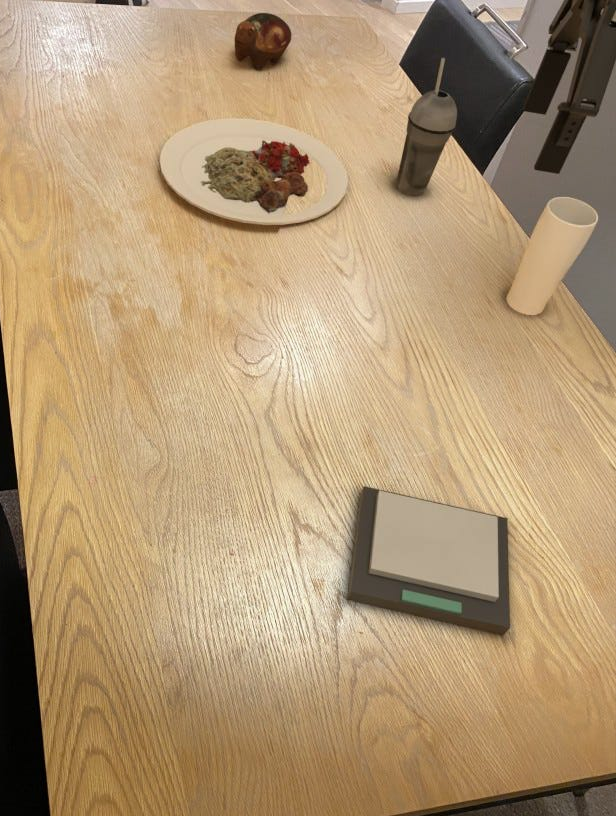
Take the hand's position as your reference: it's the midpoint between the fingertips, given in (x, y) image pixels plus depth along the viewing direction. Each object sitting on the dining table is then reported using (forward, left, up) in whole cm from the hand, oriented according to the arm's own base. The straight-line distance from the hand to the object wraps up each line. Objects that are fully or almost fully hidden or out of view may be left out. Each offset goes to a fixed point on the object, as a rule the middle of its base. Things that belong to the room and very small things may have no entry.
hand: (539, 140), depth 88 cm
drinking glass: (-8, -3, -24) cm, 26 cm away
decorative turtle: (+41, -63, -24) cm, 79 cm away
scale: (+4, +46, -24) cm, 52 cm away
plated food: (+35, -22, -24) cm, 48 cm away
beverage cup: (+10, -27, -24) cm, 38 cm away
